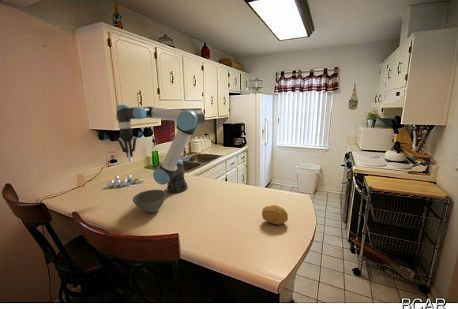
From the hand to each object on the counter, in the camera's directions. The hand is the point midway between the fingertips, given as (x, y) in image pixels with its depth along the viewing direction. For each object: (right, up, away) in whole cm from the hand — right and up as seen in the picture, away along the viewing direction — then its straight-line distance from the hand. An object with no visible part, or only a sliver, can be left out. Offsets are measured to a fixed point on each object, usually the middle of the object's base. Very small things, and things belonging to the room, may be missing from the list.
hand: (130, 161), depth 153 cm
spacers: (-18, -20, +24) cm, 36 cm away
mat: (-15, -20, +24) cm, 35 cm away
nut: (-6, -18, +24) cm, 31 cm away
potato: (+93, -31, -39) cm, 106 cm away
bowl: (+22, -30, -22) cm, 43 cm away
